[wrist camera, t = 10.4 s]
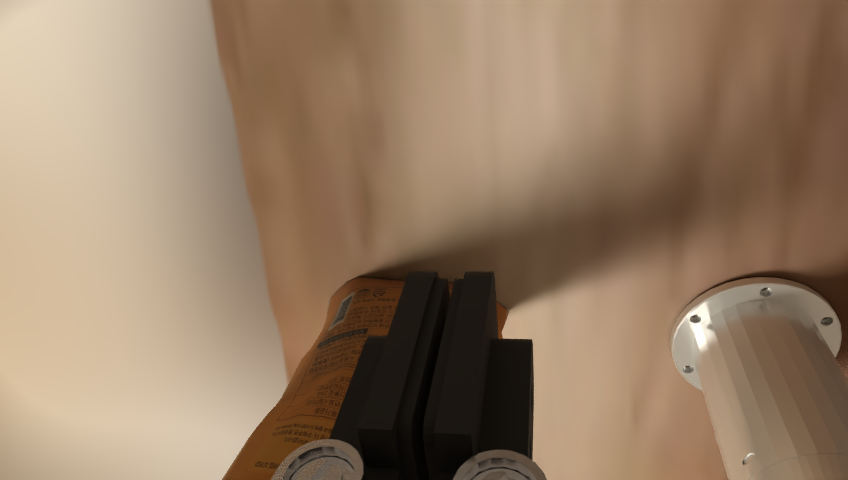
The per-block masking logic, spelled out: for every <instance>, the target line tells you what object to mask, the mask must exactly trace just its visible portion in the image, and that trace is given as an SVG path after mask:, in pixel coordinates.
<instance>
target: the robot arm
mask: <svg viewBox="0 0 848 480" xmlns="http://www.w3.org/2000/svg"><path fill="white" fill-rule="evenodd" d="M841 340H842V331H841V324H840V322H839V320H838V317H837V315H836V313H835V312H834V310H833V309H832V307H831V306H830V304H829V303H828V302H827V301H826V300H825V299H824V298H823V297H822V296H821V295H820V294H819V293H818V292H816V291H814V290H813V289H811V288H809V287H808V286H805V285H803V284H800V283H797V282H795V281H791V280H786V279H781V278H771V277H756V278H746V279H740V280H736V281H732V282H728V283H725V284H722V285H720V286H717V287H715V288H712V289H710V290H709V291H707V292H705V293H704V294H702V295H700V296H698V297H697V298H696V299H695V300H694V301H692V302H691V303H690V304H689V305H688V306H687V307H686V308H685V309H684V310H683V311H682V313H681V314H680V315H679V316H678V318H677V320H676V322H675V324H674V326H673V329H672V333H671V337H670V348H671V352H672V357H673V361H674V363H675V365H676V367H677V370H678V371H679V372H680V374H681V375H682V376H683V378H684V379H685V380H687V381H688V382H689V383H690V384H691V385H693V386H694V387H696V388H698V389H699V390H701V391H703V394H704V397H705V401H706V404H707V408H708V411H709V415H710V418H711V421H712V425H713V428H714V432H715V440H716V442H717V443H718V446H719V449H720V452H721V456H722V459H723V463H724V466H725V470H726V473H727V476H728V480H848V379H847V377H846V376H845V374H844V372H843V370H842V369H841V367H840V365H839V363H838V362H837V360H836V356H837V354H838V351H839V349H840V346H841ZM533 410H534V374H533V343H532V339H499V336H498V321H497V306H496V291H495V277H494V272H465V275H464V279H455V280H454V284H453V288H452V293H451V298H450V291H449V283H448V280H447V279H439V276H438V273H437V272H409V273H408V275H407V278H406V281H405V284H404V287H403V290H402V293H401V296H400V299H399V302H398V305H397V308H396V311H395V314H394V317H393V320H392V323H391V326H390V329H389V332H388V335H387V336H369V337H368V338H367V340H366V342H365V344H364V347H363V349H362V352H361V355H360V357H359V360H358V362H357V365H356V368H355V370H354V373H353V376H352V378H351V381H350V384H349V386H348V389H347V392H346V394H345V397H344V400H343V402H342V405H341V408H340V410H339V413H338V416H337V418H336V421H335V424H334V426H333V429H332V432H331V434H330V437H329V439H322V440H317V441H312V442H310V443H307V444H305V445H303V446H301V447H299V448H297V449H296V450H295V451H293V452H292V453H291V454H289V455H288V456H287V457H286V458H285V459H284V461H283V462H282V463H281V464H280V466H279V467H278V468H277V470H276V472H275V473H274V475H273V477H272V478H271V480H547V479H546V477H545V474H544V473H543V471H542V470H541V469H540V468H539V466H538V465H537V464H536V463H535V462H533V461H532V452H533Z"/></svg>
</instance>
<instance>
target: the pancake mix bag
mask: <svg viewBox="0 0 848 480" xmlns="http://www.w3.org/2000/svg"><path fill="white" fill-rule="evenodd" d="M405 281H406V280H387V279H378V278H367V277H357V278H355V279H353V280H351V281H348V282H346V283H345V284H344V285H343V286H342V287H341V288H340V289H339V290H338V291H337V292H336V293H335V294H334V295H333V296H332V297H331V298H330V300H329V302H328V309H327V315H326V321H325V324H324V327H323V330H322V332H321V333H320V335H319V337H318V339H317V340H316V342H315V343H314V345H313V346H312V348H311V349H310V350H309V351H308V353H307V354H306V355H305V356H304V357H303V358H302V360H301V362H300V363H299V365H298V367H297V369H296V371H295V373H294V375H293V377H292V379H291V381H290V383H289V384H288V386H287V388H286V390H285V392H284V394H283V396H282V398H281V399H280V401H279V402H278V403H277V405H276V406H275V407H274V408H273V409H272V410H271V411H270V412H269V413H268V415H267V416H266V417H265V418H264V419H263V421H262V422H261V423H260V424H259V426H258V427H257V428H256V429H255V431H254V432H253V433H252V435H251V436H250V437H249V439H248V440H247V442H246V443H245V445H244V447H243V448H242V449H241V451H240V453H239V454H238V456H237V457H236V459H235V460H234V462H233V463H232V465H231V466H230V468H229V469H228V471H227V473H226V474H225V476H224V477H223V479H222V480H271V478H272V477H273V475H274V473H275V472H276V470H277V468H278V467H279V466H280V464H281V463H282V462H283V461H284V459H285V458H286V457H287V456H288V455H289V454H291V453H292V452H293V451H295V450H296V449H297V448H299V447H301V446H303V445H305V444H307V443H310V442H312V441H317V440H322V439H329V437H330V434H331V432H332V429H333V426H334V424H335V421H336V418H337V416H338V413H339V410H340V408H341V405H342V402H343V400H344V397H345V394H346V392H347V389H348V386H349V384H350V381H351V378H352V376H353V373H354V370H355V368H356V365H357V362H358V360H359V357H360V355H361V352H362V349H363V347H364V344H365V342H366V340H367V338H368V337H369V336H387V335H388V332H389V329H390V326H391V323H392V320H393V317H394V314H395V311H396V308H397V305H398V302H399V299H400V296H401V293H402V290H403V287H404V284H405ZM453 284H454V283H449V291H450V298H451V293H452V288H453ZM496 306H497V321H498V336H499V339H503V338H502V333H501V332H502V330H503V327H504V324H505V322H506V319H507V316H508V313H509V311H508V310H507V309H505V308H504V307H503V306H502V305H501V304H499V303H498V302H497V301H496Z"/></svg>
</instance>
